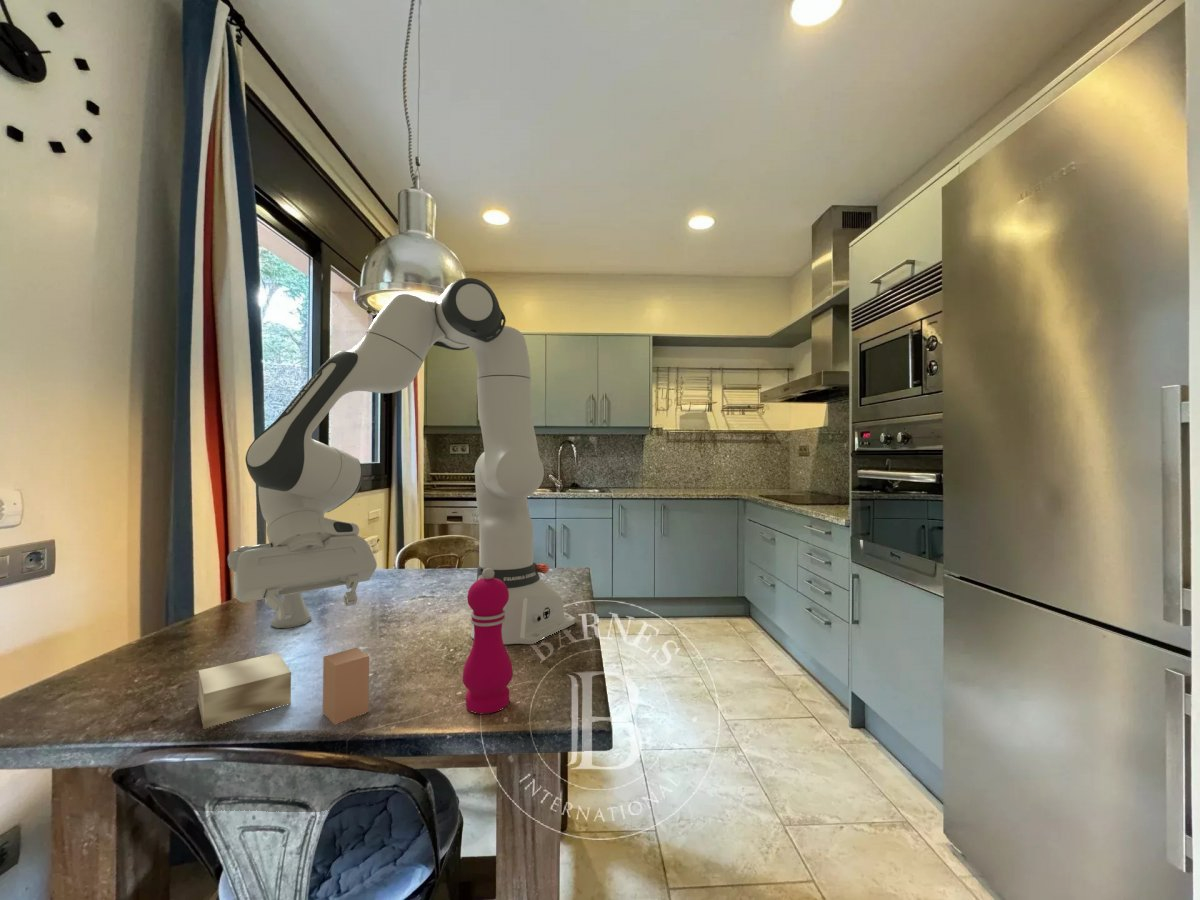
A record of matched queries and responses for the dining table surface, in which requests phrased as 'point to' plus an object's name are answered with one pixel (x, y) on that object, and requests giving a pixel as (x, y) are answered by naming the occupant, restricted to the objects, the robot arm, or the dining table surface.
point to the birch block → (243, 689)
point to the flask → (293, 612)
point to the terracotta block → (345, 685)
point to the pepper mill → (487, 647)
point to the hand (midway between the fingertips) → (320, 610)
